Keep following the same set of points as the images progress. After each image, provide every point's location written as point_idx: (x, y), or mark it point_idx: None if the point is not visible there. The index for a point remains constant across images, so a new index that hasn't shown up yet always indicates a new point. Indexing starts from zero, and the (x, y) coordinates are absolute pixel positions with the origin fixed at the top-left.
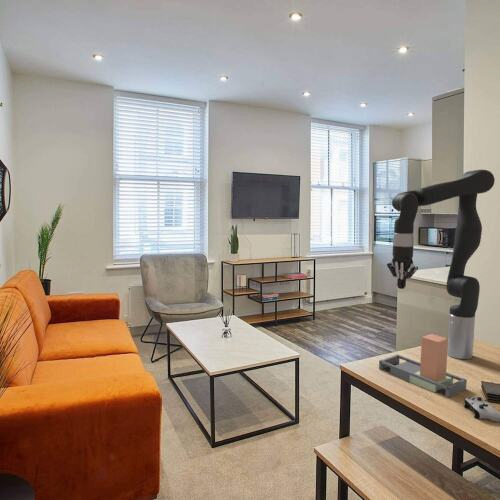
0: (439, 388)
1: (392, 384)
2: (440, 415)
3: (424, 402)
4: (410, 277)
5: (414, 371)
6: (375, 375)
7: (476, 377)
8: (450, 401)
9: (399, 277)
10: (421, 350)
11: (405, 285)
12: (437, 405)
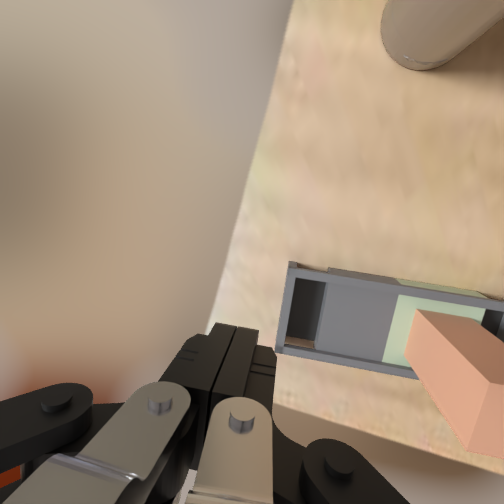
0: None
1: (347, 398)
2: (496, 465)
3: (446, 433)
4: (363, 466)
5: (380, 338)
6: (290, 379)
7: None
8: None
9: (178, 496)
10: (439, 408)
11: (275, 364)
12: None
